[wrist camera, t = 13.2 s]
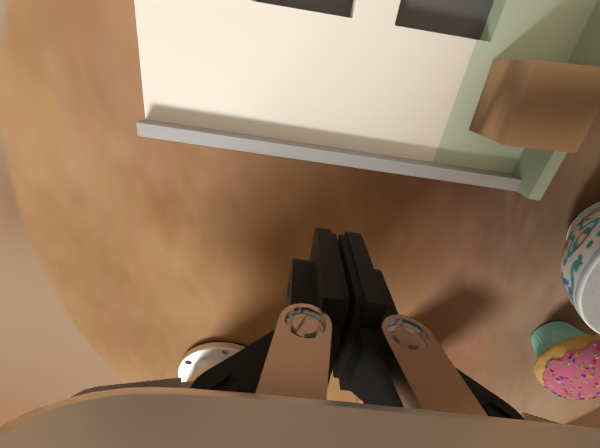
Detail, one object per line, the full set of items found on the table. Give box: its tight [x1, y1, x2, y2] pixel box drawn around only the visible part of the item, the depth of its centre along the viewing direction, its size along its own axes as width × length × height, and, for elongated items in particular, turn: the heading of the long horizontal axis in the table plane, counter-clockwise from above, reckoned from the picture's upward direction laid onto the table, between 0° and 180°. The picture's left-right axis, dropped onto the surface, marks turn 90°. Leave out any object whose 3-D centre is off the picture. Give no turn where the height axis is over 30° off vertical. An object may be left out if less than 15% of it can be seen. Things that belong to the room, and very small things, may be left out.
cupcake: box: [531, 321, 600, 400], centre depth 33 cm, size 9×8×12 cm
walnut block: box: [469, 60, 600, 153], centre depth 21 cm, size 5×5×5 cm
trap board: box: [134, 0, 600, 200], centre depth 22 cm, size 15×32×5 cm, turn 82°
